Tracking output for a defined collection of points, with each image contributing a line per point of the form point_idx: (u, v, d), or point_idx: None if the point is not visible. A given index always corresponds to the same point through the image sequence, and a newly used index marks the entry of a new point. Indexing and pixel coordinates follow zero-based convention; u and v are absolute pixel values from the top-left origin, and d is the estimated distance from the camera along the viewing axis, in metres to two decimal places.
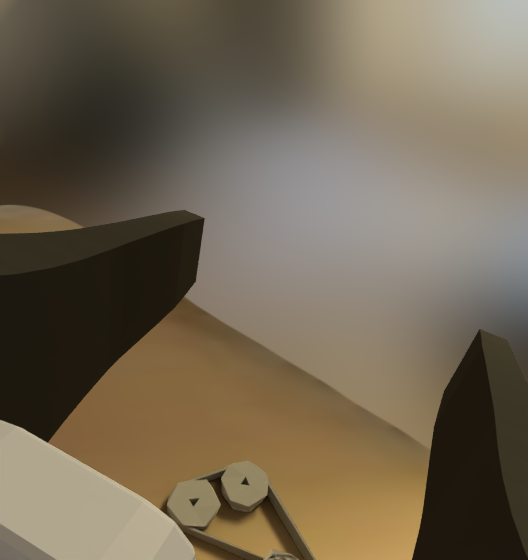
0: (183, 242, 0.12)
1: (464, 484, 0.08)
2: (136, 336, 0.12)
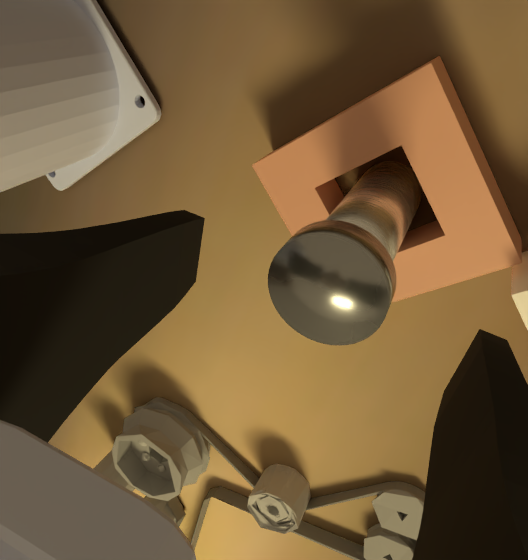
0: (183, 242, 0.12)
1: (464, 484, 0.08)
2: (136, 336, 0.12)
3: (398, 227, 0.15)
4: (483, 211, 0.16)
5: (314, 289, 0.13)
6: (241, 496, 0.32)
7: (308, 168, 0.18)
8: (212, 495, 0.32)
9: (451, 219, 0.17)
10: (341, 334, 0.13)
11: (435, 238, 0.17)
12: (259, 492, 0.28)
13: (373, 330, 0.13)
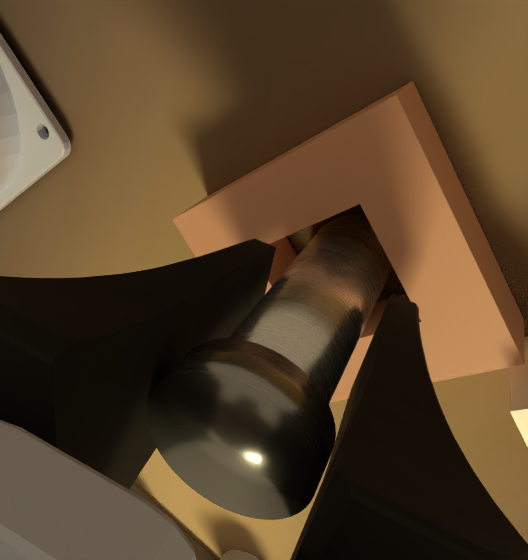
0: (257, 273, 0.12)
1: (346, 428, 0.09)
2: None
3: (351, 325, 0.11)
4: (472, 295, 0.12)
5: (211, 444, 0.09)
6: None
7: (242, 226, 0.14)
8: None
9: (429, 302, 0.12)
10: (254, 505, 0.09)
11: None
12: None
13: (298, 509, 0.08)
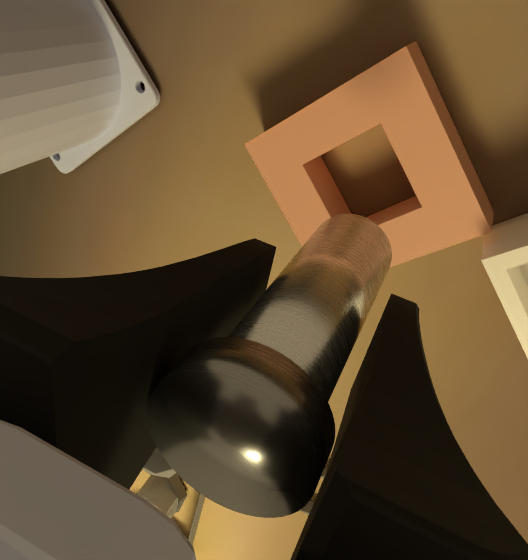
0: (257, 273, 0.12)
1: (346, 427, 0.09)
2: None
3: (349, 323, 0.11)
4: (456, 183, 0.18)
5: (210, 442, 0.09)
6: None
7: (296, 146, 0.19)
8: None
9: (427, 192, 0.18)
10: (254, 503, 0.09)
11: (413, 210, 0.19)
12: None
13: (298, 507, 0.08)
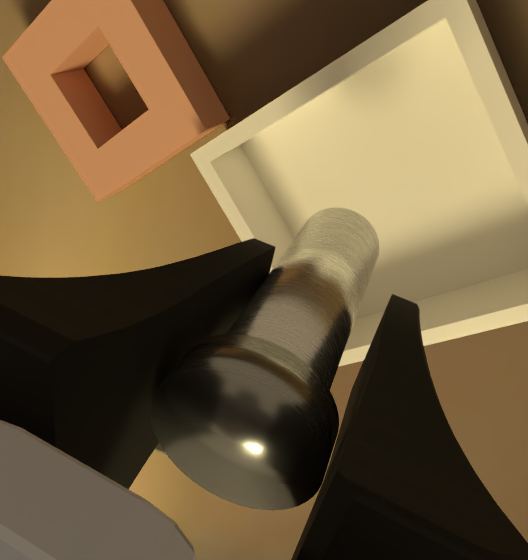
0: (257, 273, 0.12)
1: (347, 428, 0.09)
2: None
3: (344, 315, 0.11)
4: (168, 82, 0.19)
5: (217, 439, 0.09)
6: None
7: (41, 55, 0.20)
8: None
9: (148, 93, 0.19)
10: (262, 497, 0.09)
11: (144, 113, 0.20)
12: None
13: (306, 498, 0.09)
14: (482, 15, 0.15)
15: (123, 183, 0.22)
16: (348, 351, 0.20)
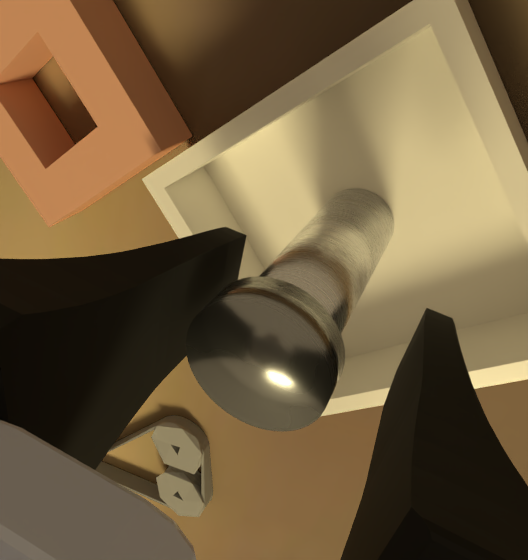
0: (227, 260, 0.12)
1: (393, 450, 0.08)
2: (179, 357, 0.12)
3: (356, 275, 0.13)
4: (117, 96, 0.16)
5: (241, 364, 0.10)
6: None
7: None
8: None
9: (97, 108, 0.17)
10: (277, 419, 0.11)
11: (93, 131, 0.17)
12: None
13: (314, 417, 0.10)
14: None
15: (75, 207, 0.19)
16: None
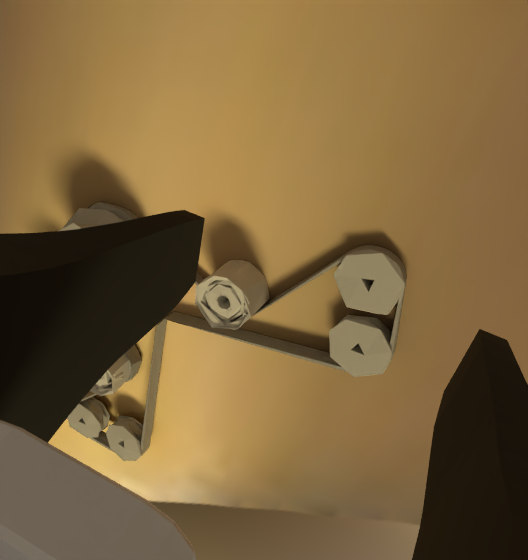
0: (183, 242, 0.12)
1: (464, 484, 0.08)
2: (136, 336, 0.12)
3: None
4: None
5: None
6: (197, 318, 0.29)
7: None
8: (164, 318, 0.29)
9: None
10: None
11: None
12: (206, 279, 0.24)
13: None
14: None
15: None
16: None
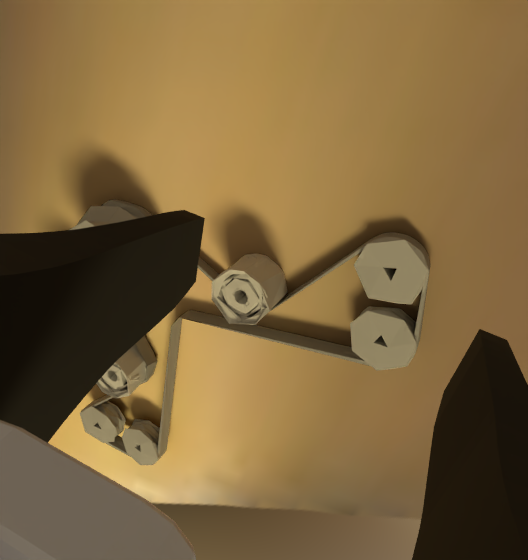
0: (183, 242, 0.12)
1: (464, 484, 0.08)
2: (136, 336, 0.12)
3: None
4: None
5: None
6: (213, 316, 0.28)
7: None
8: (180, 317, 0.28)
9: None
10: None
11: None
12: (223, 273, 0.24)
13: None
14: None
15: None
16: None
